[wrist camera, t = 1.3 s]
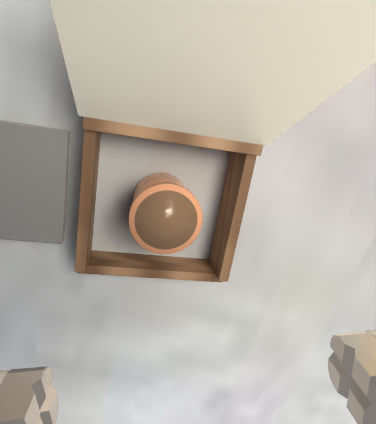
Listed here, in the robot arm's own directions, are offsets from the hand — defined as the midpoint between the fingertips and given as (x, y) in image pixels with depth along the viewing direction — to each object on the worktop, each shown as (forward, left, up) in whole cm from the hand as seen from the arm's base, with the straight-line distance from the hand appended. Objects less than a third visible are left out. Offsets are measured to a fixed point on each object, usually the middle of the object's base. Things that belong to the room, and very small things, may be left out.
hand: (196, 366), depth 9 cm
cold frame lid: (+2, +9, -14) cm, 17 cm away
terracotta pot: (+2, -3, -28) cm, 28 cm away
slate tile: (-14, -3, -27) cm, 31 cm away
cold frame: (+2, -3, -28) cm, 28 cm away
